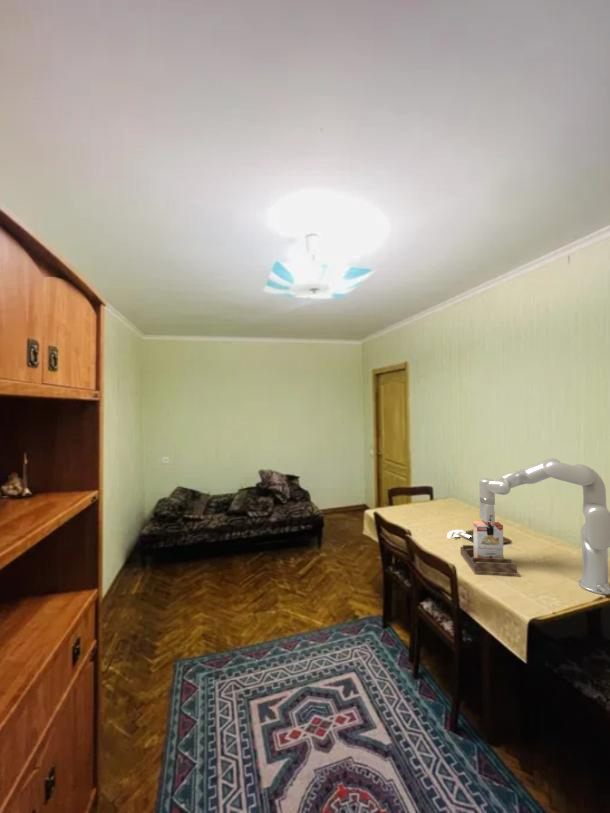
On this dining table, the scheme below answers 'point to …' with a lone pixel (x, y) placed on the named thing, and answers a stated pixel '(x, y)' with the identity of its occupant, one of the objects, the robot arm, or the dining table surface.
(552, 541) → the dining table surface
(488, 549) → the cracker box
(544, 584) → the dining table surface
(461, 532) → the cloth
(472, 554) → the rack
